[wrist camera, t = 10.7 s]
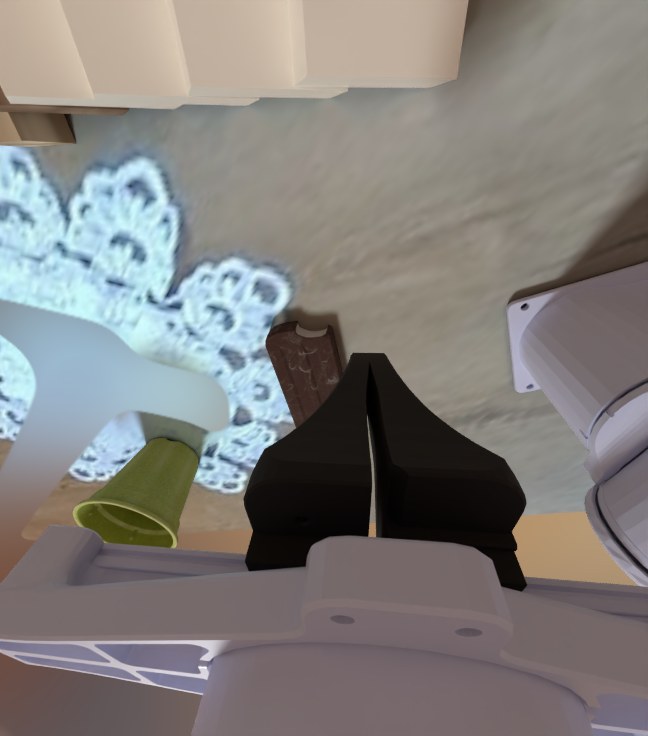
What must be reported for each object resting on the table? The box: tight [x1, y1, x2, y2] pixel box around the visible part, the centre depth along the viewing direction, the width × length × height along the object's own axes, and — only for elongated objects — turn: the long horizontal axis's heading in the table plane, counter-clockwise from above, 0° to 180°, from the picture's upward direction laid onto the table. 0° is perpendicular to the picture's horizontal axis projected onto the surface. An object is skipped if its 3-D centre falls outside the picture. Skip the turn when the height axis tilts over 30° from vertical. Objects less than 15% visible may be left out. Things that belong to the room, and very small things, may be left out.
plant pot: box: [73, 438, 198, 548], centre depth 31 cm, size 9×9×9 cm
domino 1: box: [0, 0, 183, 109], centre depth 13 cm, size 2×5×7 cm
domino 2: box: [59, 0, 260, 106], centre depth 13 cm, size 2×5×7 cm
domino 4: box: [287, 0, 469, 88], centre depth 12 cm, size 2×5×7 cm
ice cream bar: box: [266, 321, 343, 428], centre depth 27 cm, size 5×2×15 cm
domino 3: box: [166, 0, 348, 98], centre depth 12 cm, size 2×5×7 cm
